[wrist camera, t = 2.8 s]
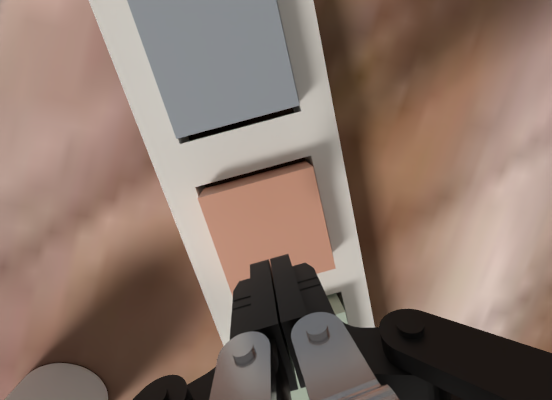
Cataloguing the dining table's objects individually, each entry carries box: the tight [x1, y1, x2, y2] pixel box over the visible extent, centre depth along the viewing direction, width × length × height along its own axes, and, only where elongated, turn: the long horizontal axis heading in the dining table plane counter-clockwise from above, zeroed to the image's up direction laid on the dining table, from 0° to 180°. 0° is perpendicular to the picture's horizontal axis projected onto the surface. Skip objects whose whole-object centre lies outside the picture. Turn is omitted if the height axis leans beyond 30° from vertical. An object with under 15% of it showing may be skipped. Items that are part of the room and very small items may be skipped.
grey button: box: [127, 0, 300, 139], centre depth 13 cm, size 6×6×2 cm
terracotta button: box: [198, 161, 336, 296], centre depth 16 cm, size 6×6×2 cm
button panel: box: [89, 0, 375, 345], centre depth 18 cm, size 10×30×2 cm, turn 14°
